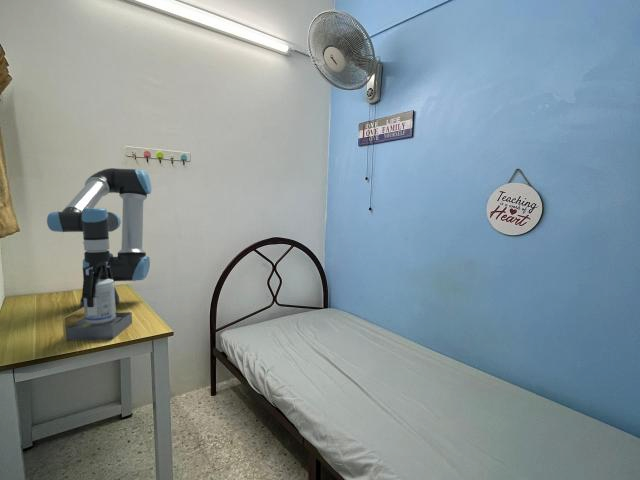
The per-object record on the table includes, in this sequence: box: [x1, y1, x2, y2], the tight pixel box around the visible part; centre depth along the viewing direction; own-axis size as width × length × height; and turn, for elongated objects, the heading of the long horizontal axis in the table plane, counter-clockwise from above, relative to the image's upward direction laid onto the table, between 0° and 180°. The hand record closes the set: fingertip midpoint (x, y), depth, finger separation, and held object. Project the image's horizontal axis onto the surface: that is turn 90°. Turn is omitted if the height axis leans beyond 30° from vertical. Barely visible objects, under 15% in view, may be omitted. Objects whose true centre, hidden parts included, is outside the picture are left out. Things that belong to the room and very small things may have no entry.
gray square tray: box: [62, 307, 133, 342], centre depth 118 cm, size 15×16×8 cm
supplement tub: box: [84, 279, 117, 324], centre depth 117 cm, size 10×10×15 cm
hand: (100, 310), depth 117 cm, fingers closed on supplement tub, 9 cm apart
